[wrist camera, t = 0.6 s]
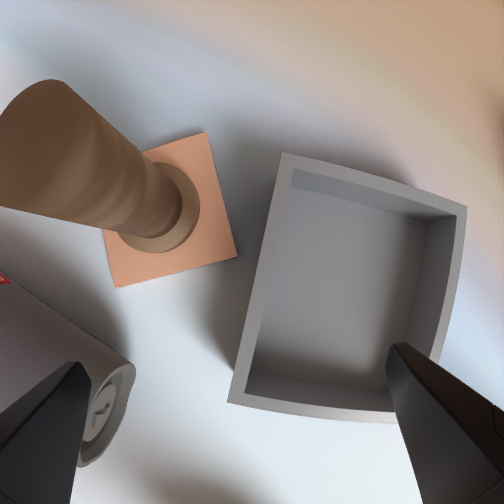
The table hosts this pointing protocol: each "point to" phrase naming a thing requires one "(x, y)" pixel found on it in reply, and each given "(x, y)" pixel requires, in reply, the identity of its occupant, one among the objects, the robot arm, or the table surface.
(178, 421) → the table surface
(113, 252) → the terracotta tile
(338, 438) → the table surface
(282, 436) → the table surface
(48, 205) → the walnut handle
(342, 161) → the table surface
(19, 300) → the bluetooth speaker
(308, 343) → the box
